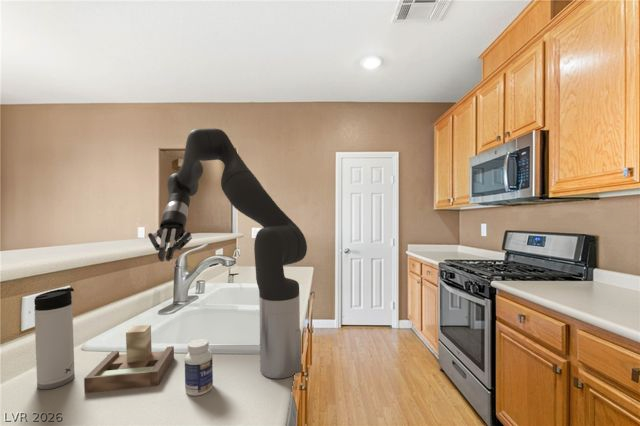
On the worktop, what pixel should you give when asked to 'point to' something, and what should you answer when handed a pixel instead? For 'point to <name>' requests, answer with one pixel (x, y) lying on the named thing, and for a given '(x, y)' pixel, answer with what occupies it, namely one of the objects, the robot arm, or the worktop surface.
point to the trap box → (128, 371)
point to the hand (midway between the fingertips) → (164, 259)
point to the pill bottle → (198, 368)
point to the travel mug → (54, 338)
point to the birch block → (138, 343)
